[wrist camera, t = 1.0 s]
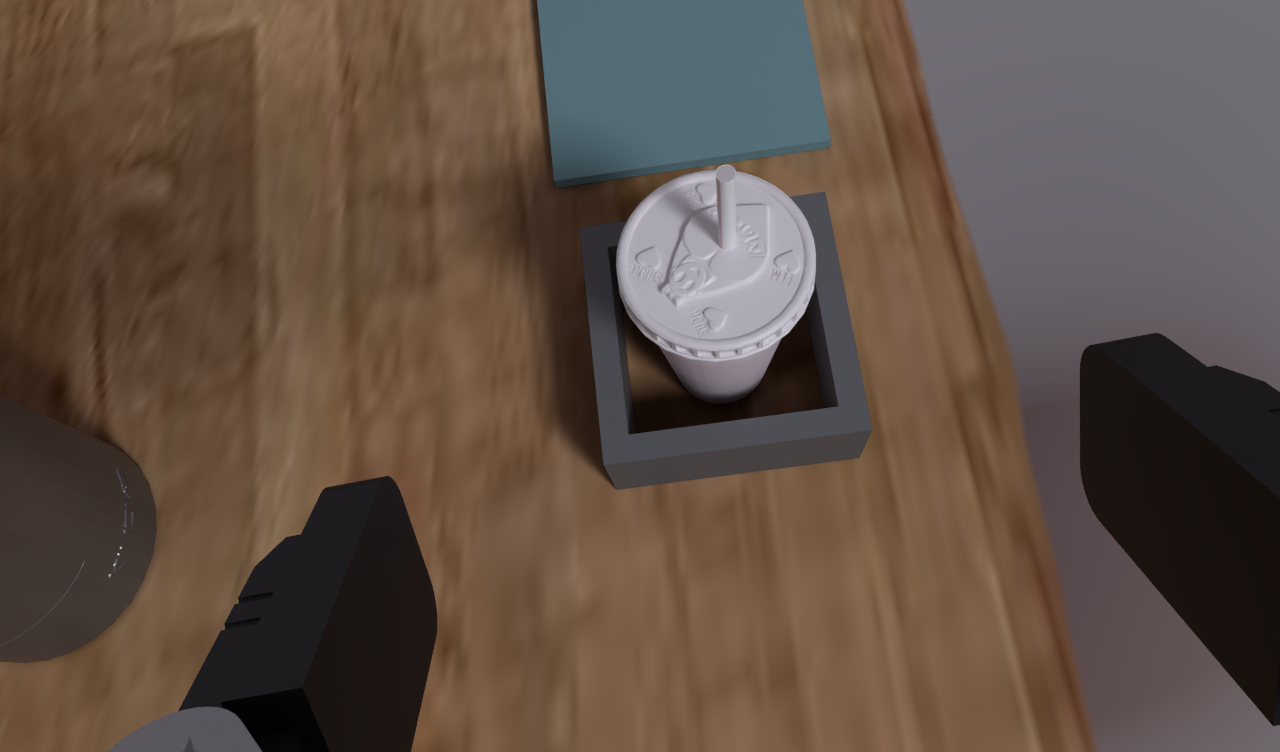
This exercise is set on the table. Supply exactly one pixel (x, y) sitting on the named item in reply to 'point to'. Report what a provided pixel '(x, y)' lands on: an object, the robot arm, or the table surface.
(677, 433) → the frame
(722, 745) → the table surface
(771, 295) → the smoothie
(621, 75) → the coaster
